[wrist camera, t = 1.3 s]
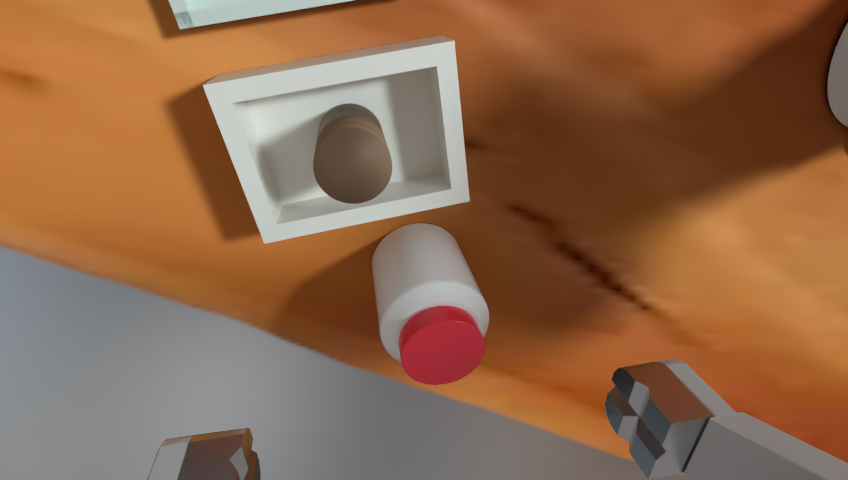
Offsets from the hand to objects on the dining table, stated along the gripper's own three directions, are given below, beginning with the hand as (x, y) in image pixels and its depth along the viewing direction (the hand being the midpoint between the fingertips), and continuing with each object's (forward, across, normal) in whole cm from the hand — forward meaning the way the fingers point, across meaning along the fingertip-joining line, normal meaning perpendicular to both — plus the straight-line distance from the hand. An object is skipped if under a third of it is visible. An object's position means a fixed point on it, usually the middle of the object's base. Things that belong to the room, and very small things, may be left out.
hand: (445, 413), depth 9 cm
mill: (+24, +1, 0) cm, 24 cm away
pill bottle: (+25, -4, +11) cm, 28 cm away
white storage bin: (+24, +1, 0) cm, 25 cm away
